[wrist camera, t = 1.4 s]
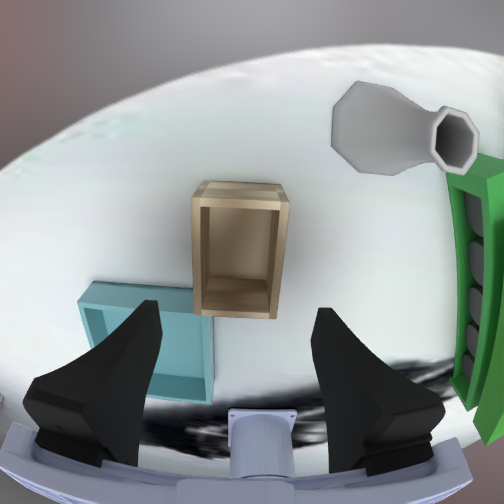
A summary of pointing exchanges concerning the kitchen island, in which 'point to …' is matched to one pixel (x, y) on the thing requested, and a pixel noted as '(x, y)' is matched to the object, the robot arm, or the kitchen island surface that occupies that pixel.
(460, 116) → the flask
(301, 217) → the kitchen island surface
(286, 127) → the kitchen island surface
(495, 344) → the tank
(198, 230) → the birch crate
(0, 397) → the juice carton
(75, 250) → the kitchen island surface
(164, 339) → the teal crate
